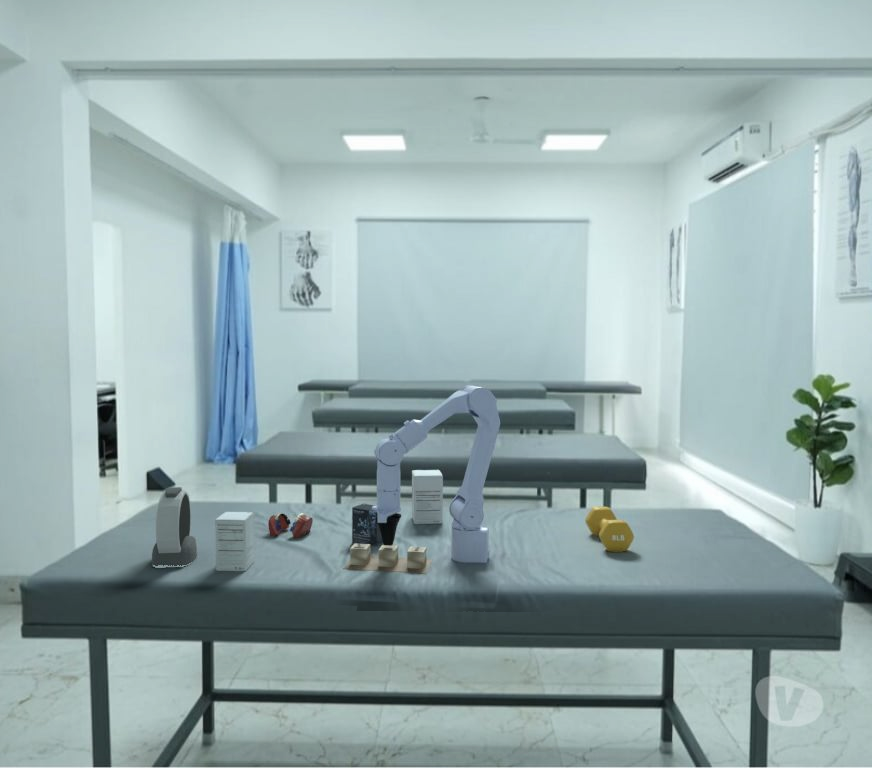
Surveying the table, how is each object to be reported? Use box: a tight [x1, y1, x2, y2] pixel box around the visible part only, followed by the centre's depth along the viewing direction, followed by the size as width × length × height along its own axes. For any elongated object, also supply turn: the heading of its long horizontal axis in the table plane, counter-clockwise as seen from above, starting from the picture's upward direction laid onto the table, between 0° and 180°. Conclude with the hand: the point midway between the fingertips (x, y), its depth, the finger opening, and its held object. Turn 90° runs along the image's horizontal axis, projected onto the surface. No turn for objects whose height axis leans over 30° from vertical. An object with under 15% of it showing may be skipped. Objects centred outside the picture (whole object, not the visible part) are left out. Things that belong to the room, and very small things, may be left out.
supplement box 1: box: [214, 511, 255, 572], centre depth 164 cm, size 7×7×13 cm
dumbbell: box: [584, 506, 635, 553], centre depth 186 cm, size 19×9×8 cm, turn 1°
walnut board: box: [342, 555, 433, 574], centre depth 164 cm, size 20×10×1 cm, turn 81°
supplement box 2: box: [411, 469, 444, 525], centre depth 208 cm, size 9×9×15 cm
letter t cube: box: [349, 543, 371, 565], centre depth 165 cm, size 4×4×4 cm
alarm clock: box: [151, 486, 198, 566], centre depth 169 cm, size 16×10×18 cm, turn 9°
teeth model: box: [267, 512, 314, 539], centre depth 193 cm, size 8×6×12 cm
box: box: [351, 503, 384, 548], centre depth 182 cm, size 8×6×11 cm
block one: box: [406, 546, 427, 569], centre depth 163 cm, size 4×4×4 cm
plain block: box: [378, 544, 399, 567], centre depth 164 cm, size 4×4×4 cm
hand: (388, 544), depth 164 cm, fingers closed
